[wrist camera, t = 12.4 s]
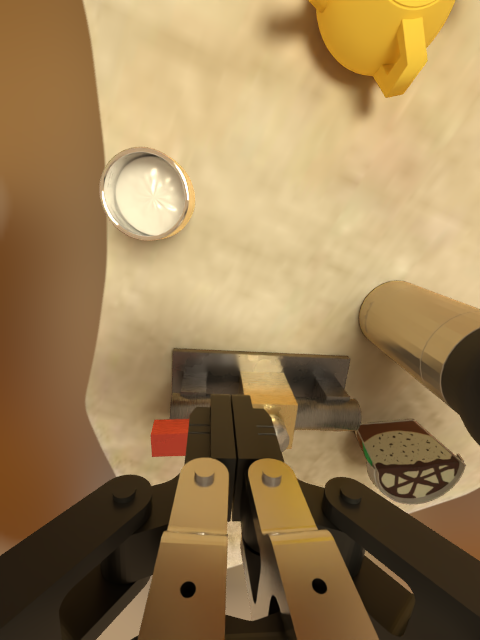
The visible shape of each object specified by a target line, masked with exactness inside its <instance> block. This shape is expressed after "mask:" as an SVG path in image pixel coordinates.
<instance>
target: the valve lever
mask: <svg viewBox="0 0 480 640" xmlns="http://www.w3.org/2000/svg"><path fill="white" fill-rule="evenodd" d="M270 416H271V418H272V421H273V425H274V428H275V432H276V435H277V439H278V442H279V446H280V449H281V452H283V451H284V450H285V449H286V448H287V447H288V445H289V435H288V432H287V429H286V426H285V423H284V421H283V420H282V419H281V418H280V417H279V416H277V415H272V414H270ZM188 427H189V419H167V420H154V424H153V428H152V432H151V447H152V457H159V456H186V446H187V437H188Z"/></svg>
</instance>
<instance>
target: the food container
mask: <svg viewBox="0 0 480 640" xmlns="http://www.w3.org/2000/svg"><path fill="white" fill-rule="evenodd" d="M354 432H355V435H356V438H357V440H358V442H359V444H360V446H361V448H362V451H363V453H364V455H365V457H366V459H367V461H368V462H367V471H368V475H369V477H370V479H371V481H372V482H373V484H374V485H375V486H376V487H377V488H378V489H379V490H380V491H381V492H382V493H383V494H384V495H386V496H387V497H389V498H390V499H392V500H394V501H396V502H398V503H402V504H410V505H411V504H422V503H426V502H429V501H432V500H434V499H437V498H439V497H440V496H442V495H444V494H445V493H447V492H448V491H449V490H450V489H451V488H453V487H454V486H455V484H456V483H457V482H458V481H459V479H460V478H461V476H462V474H463V472H464V469H465V466H466V465H465V464H464V460H463V459H462V458H461V456H460V455H459V454H457V456H455V455H454V454H453V453H452V452H451V451H450V450H449V449H447V448H446V447H445V446H444V445H443V444H442V443H440V442H439V441H438V440H437V439H436V438H435V437H434V436H432V435H431V434H430V433H429V432H428V431H427V430H425V429H424V428H423V427H422V426H421V425H420V424H419V423H417V422H416V421H415V420H414V419H405V420H394V421H382V422H370V423H361V424H360V427H359V429H358V430H357V431H354Z"/></svg>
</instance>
